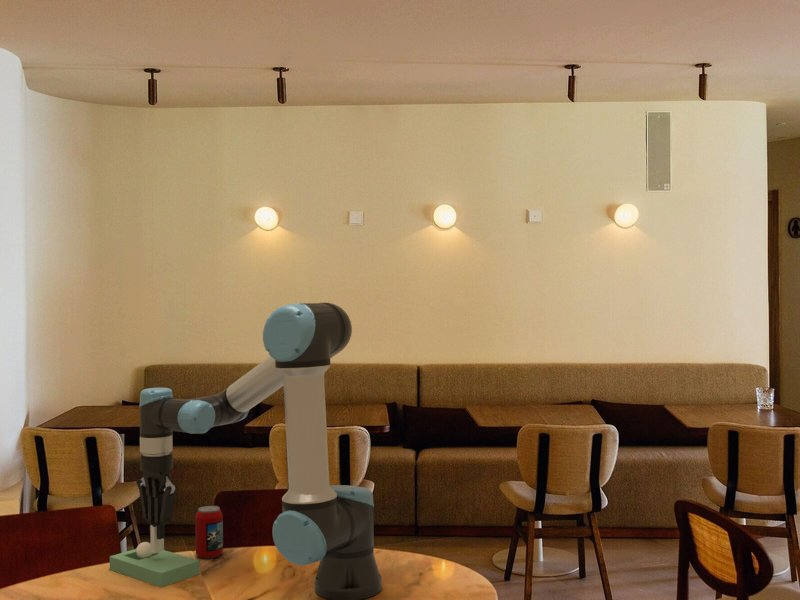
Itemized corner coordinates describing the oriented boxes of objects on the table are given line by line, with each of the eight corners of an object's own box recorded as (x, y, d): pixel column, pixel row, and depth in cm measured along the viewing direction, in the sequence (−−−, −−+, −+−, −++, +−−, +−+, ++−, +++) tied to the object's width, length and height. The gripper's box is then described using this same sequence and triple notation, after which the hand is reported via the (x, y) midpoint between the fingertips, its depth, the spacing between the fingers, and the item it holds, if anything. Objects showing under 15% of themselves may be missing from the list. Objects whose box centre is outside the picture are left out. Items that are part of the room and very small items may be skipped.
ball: (147, 555, 209) (157, 557, 206) (133, 559, 206) (143, 561, 203) (146, 539, 209) (156, 541, 206) (132, 543, 206) (142, 544, 203)
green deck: (199, 573, 202) (199, 560, 202) (161, 587, 194) (161, 573, 194) (148, 557, 214) (147, 545, 214) (109, 569, 206) (109, 556, 206)
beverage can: (216, 560, 212) (215, 512, 212) (191, 558, 213) (190, 511, 213) (227, 552, 219) (226, 505, 218) (202, 550, 220) (202, 504, 220)
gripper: (186, 453, 202) (187, 552, 202) (152, 447, 209) (153, 542, 210) (160, 459, 196) (161, 561, 196) (126, 452, 204) (127, 550, 204)
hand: (157, 551), depth 203 cm, fingers closed
